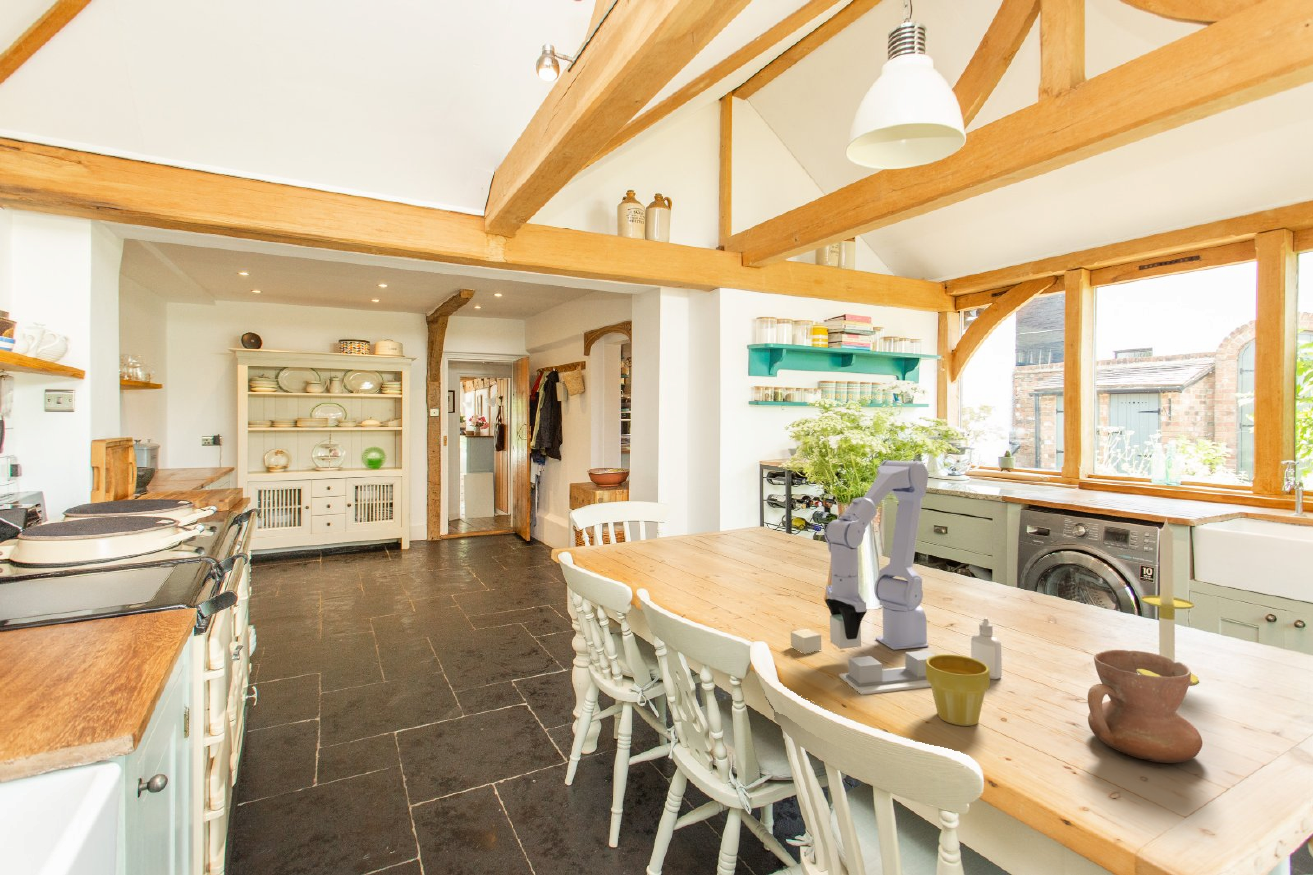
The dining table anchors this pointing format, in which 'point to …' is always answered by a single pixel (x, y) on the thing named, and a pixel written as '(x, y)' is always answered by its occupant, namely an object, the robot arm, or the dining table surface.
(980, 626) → the eye dropper bottle
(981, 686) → the plant pot
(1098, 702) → the ceramic jug
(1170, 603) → the candle
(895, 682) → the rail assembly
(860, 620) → the robot arm
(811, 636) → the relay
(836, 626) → the block
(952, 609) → the dining table surface
